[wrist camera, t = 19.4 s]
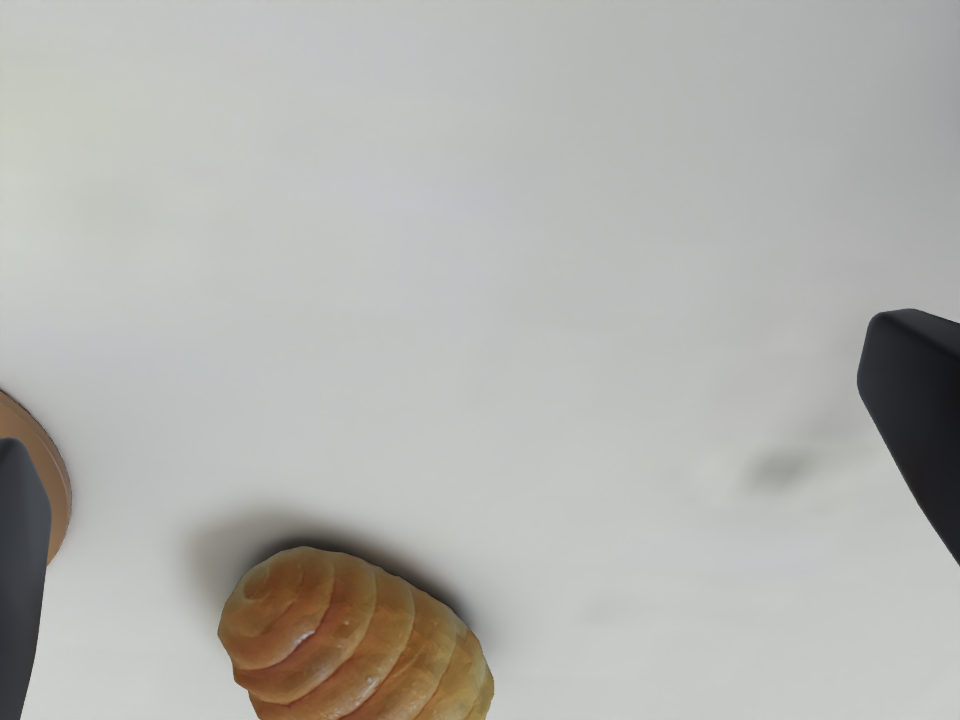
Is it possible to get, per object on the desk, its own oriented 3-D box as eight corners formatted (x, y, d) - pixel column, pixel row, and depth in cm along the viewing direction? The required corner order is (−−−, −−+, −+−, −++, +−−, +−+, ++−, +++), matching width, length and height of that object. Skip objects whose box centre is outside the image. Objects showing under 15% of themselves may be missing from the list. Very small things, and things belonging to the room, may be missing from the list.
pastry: (163, 604, 26) (146, 714, 23) (341, 491, 25) (348, 590, 22) (353, 733, 32) (360, 838, 28) (508, 644, 30) (533, 743, 27)
